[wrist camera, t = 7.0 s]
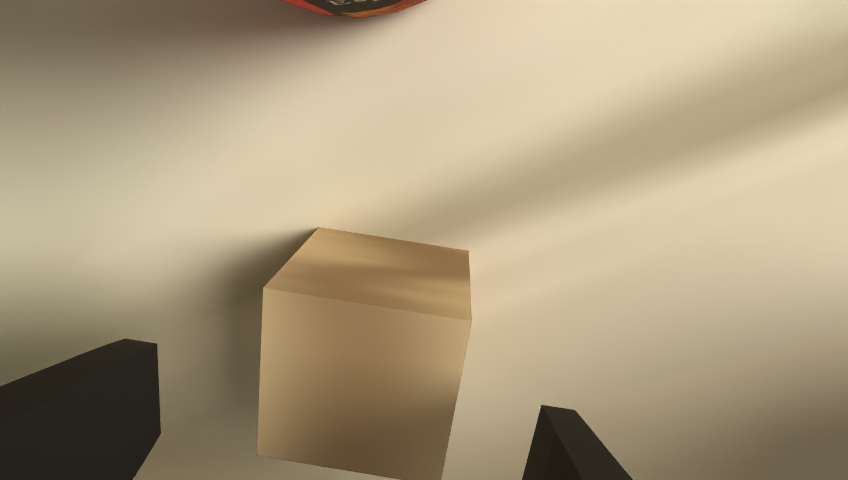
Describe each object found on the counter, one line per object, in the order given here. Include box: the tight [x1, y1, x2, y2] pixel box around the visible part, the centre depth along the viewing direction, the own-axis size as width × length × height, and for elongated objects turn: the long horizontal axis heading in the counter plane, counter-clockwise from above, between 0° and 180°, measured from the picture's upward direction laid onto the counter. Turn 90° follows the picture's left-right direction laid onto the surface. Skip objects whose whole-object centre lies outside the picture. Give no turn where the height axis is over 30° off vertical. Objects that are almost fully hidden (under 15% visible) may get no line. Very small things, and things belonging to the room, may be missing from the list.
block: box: [257, 227, 472, 480], centre depth 12 cm, size 4×4×4 cm
